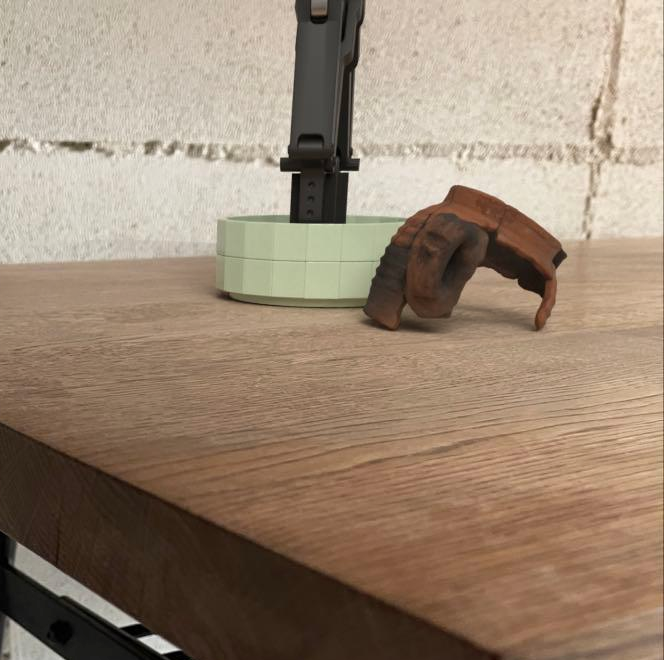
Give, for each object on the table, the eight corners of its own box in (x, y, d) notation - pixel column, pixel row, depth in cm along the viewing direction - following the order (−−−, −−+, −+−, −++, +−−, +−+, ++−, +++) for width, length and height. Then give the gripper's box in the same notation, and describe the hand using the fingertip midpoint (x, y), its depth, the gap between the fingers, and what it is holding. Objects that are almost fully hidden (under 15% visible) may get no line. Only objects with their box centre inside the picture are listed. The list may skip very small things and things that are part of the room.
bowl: (328, 283, 83) (332, 213, 82) (461, 301, 72) (468, 220, 71) (178, 292, 77) (179, 216, 75) (297, 314, 66) (302, 226, 65)
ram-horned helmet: (365, 318, 68) (445, 195, 66) (502, 401, 65) (589, 275, 63) (321, 284, 57) (415, 134, 55) (484, 382, 54) (589, 228, 52)
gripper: (295, -78, 77) (280, 262, 85) (246, -156, 59) (232, 290, 66) (408, -84, 76) (382, 264, 83) (394, -166, 57) (363, 294, 64)
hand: (316, 275), depth 74 cm, fingers open, 8 cm apart
